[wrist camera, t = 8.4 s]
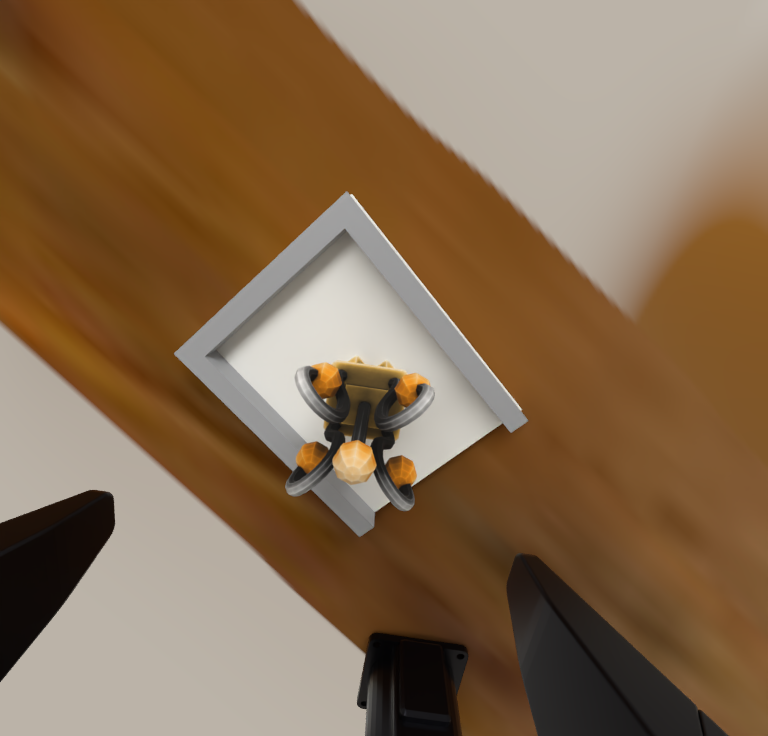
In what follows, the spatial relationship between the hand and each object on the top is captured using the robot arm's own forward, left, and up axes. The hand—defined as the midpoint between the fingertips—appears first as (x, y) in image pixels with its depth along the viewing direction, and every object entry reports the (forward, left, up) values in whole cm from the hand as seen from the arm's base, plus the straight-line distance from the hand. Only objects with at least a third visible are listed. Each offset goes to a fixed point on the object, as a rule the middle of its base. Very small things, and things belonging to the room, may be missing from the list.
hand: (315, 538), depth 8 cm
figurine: (0, -1, -11) cm, 11 cm away
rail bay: (0, 0, -12) cm, 12 cm away
